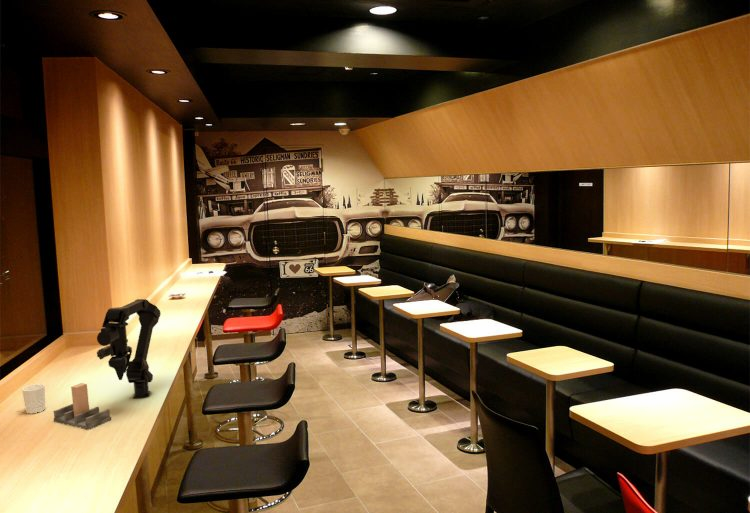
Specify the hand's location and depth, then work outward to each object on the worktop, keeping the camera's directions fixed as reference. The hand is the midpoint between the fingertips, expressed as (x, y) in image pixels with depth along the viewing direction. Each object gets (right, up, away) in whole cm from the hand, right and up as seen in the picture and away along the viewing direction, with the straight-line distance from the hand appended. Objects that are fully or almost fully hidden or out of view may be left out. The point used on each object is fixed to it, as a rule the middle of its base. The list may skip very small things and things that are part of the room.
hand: (122, 376), depth 246 cm
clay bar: (-11, -14, -11) cm, 21 cm away
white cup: (-35, -14, 0) cm, 38 cm away
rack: (-11, -15, -11) cm, 22 cm away
